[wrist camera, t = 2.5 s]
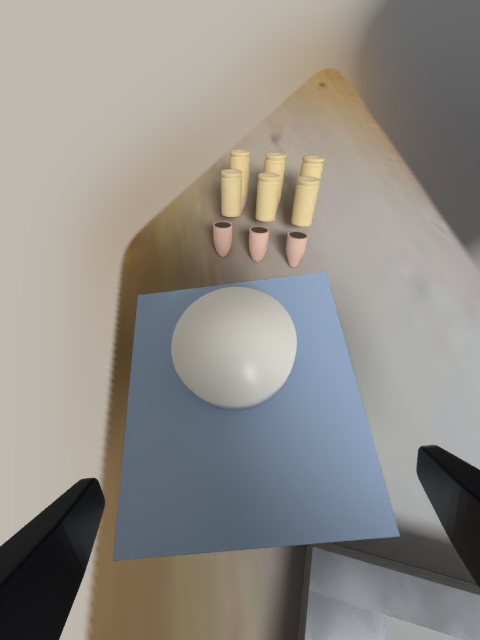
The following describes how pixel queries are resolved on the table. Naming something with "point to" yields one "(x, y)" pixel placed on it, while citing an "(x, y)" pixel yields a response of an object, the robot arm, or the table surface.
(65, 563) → the robot arm
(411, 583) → the plate
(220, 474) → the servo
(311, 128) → the table surface
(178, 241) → the table surface
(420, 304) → the table surface
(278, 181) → the ammunition
